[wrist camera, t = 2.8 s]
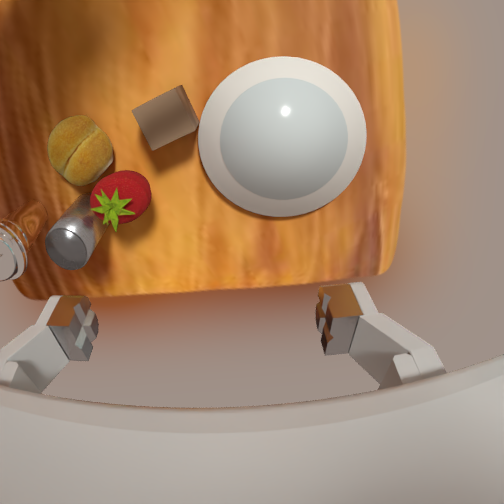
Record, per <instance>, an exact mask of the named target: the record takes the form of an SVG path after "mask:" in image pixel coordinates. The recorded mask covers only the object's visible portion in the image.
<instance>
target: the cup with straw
mask: <svg viewBox="0 0 504 504" xmlns="http://www.w3.org/2000/svg"><path fill="white" fill-rule="evenodd" d="M46 222H47V211H46V209H45V207H44V206H43V205H42V204H41V203H40V202H39V201H37V200H29V201H27V202H26V203H25V204H23V205H21V206H20V207H19V208H17V209H16V210H14V211H13V212H11V213H10V214H9V215H7V216H6V217H5V218H3V219H0V281H5V280H8V279H17V278H18V277H20V276H21V275H22V274H23V273H24V272H25V271H26V268H27V264H28V260H27V256H28V253H29V250H30V248H31V247H32V245H33V243H34V241H35V240H36V238H37V236H38V235H39V233H40V231H41V230H42V228H43V226H44V224H45V223H46Z"/></svg>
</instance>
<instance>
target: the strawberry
mask: <svg viewBox="0 0 504 504" xmlns="http://www.w3.org/2000/svg"><path fill="white" fill-rule="evenodd" d="M150 201H151V190H150V185H149V183H148V181H147V179H146V178H145V177H144V176H142V175H141V174H139V173H137V172H134V171H128V170H125V171H118V172H115V173H113V174H110V175H108V176H105V177H104V178H102V179H101V180H100V181H99V182H98V183H97V184H96V185H95V187H94V189H93V191H92V194H91V197H90V206H91V209H90V210H92V211H93V213H94V214H95V215H96V216H97V217H98V218H99V219H101V220H103V225H104V224H105V223H107V225H108V223H112V225H113V227H114V229H115V232H117V227H118V224H123V223H128V222H131V221H133V220H135V219H136V218H138V217H139V216H140V215H141V214H142V213H143V212H144V211H145V210H146V209H147V208H148V206H149V204H150Z"/></svg>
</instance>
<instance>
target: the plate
mask: <svg viewBox="0 0 504 504" xmlns="http://www.w3.org/2000/svg"><path fill="white" fill-rule="evenodd" d="M198 146H199V152H200V157H201V160H202V163H203V166H204V168H205V171H206V173H207V175H208V177H209V178H210V180H211V181H212V183H213V184H214V185H215V187H216V188H217V189H218V190H219V191H220V192H221V193H222V194H223V195H224V196H225V197H226V198H227V199H229V200H230V201H232V202H233V203H234V204H236V205H238V206H240V207H242V208H243V209H246V210H248V211H251V212H253V213H257V214H261V215H266V216H273V217H287V216H296V215H300V214H305V213H308V212H311V211H314V210H316V209H318V208H320V207H322V206H324V205H326V204H327V203H329V202H330V201H332V200H333V199H334V198H336V197H337V196H338V195H339V194H340V193H341V192H342V191H343V190H344V189H345V188H346V187H347V186H348V185H349V184H350V182H351V181H352V180H353V178H354V176H355V175H356V173H357V171H358V169H359V167H360V165H361V162H362V159H363V156H364V152H365V146H366V124H365V119H364V115H363V111H362V109H361V106H360V104H359V102H358V100H357V98H356V96H355V95H354V93H353V92H352V90H351V89H350V88H349V86H348V85H347V84H346V83H345V82H344V81H343V80H342V79H341V78H340V77H339V76H338V75H336V74H335V73H334V72H332V71H331V70H329V69H327V68H326V67H324V66H322V65H320V64H318V63H315V62H312V61H310V60H306V59H302V58H297V57H286V56H285V57H271V58H265V59H260V60H257V61H254V62H251V63H249V64H247V65H245V66H243V67H241V68H239V69H237V70H236V71H234V72H233V73H231V74H230V75H229V76H228V77H226V78H225V79H224V80H223V81H222V82H221V83H220V84H219V85H218V87H217V88H216V89H215V90H214V92H213V93H212V95H211V96H210V98H209V100H208V101H207V103H206V106H205V108H204V110H203V113H202V116H201V120H200V124H199V132H198Z"/></svg>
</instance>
